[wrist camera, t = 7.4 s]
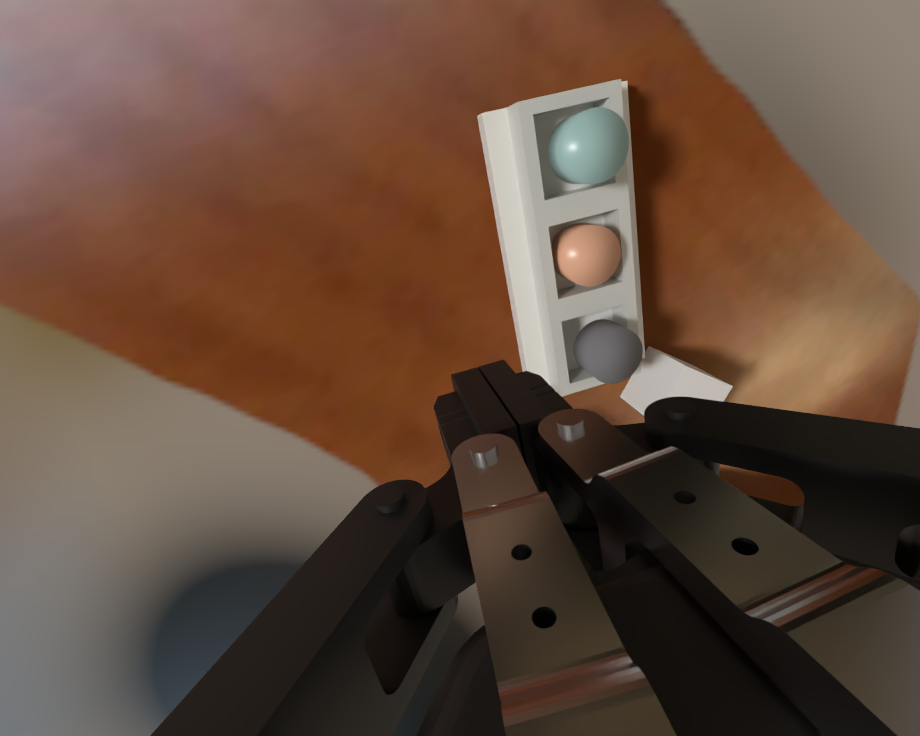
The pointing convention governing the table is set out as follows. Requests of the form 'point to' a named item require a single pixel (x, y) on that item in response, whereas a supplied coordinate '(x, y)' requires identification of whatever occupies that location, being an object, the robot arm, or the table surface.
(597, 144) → the teal button
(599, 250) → the terracotta button
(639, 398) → the white cube
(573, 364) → the button board
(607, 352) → the charcoal button
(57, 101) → the table surface
